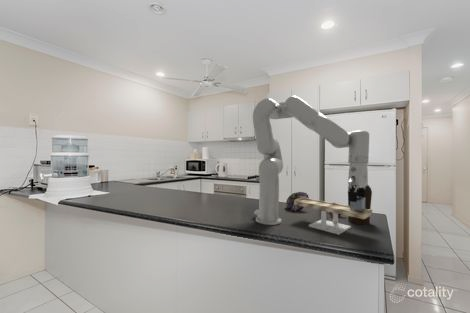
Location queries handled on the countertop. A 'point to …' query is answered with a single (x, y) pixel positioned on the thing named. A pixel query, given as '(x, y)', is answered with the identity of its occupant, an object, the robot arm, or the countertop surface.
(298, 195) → the decorative flower
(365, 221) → the olive oil
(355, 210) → the iron weight
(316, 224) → the trestle
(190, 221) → the countertop surface
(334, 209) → the beam
